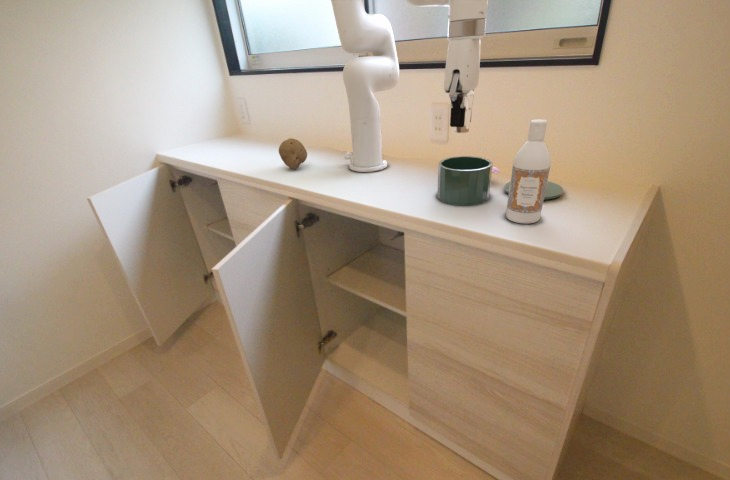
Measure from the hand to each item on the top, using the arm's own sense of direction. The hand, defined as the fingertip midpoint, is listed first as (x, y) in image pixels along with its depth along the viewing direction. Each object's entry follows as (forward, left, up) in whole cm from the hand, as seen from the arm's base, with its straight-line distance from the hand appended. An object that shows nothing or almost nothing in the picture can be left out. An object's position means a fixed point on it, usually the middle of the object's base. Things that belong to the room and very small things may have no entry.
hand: (460, 123), depth 84 cm
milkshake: (0, 0, -2) cm, 2 cm away
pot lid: (+17, +9, -17) cm, 25 cm away
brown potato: (-58, +5, -17) cm, 61 cm away
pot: (+2, 0, -17) cm, 17 cm away
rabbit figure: (0, +15, -17) cm, 23 cm away
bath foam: (+18, -8, -17) cm, 26 cm away
